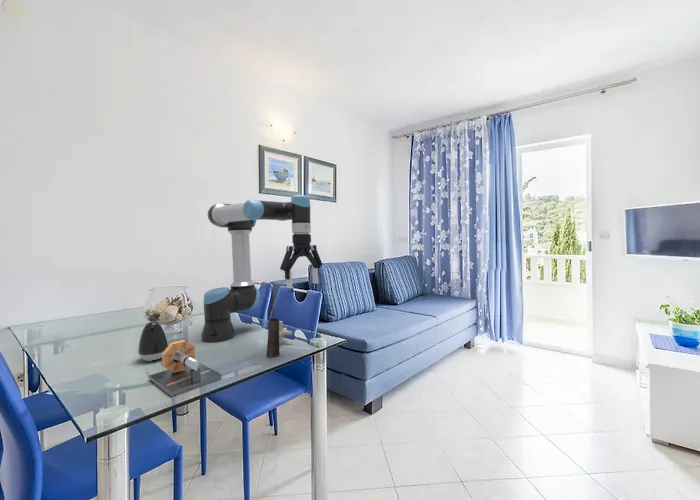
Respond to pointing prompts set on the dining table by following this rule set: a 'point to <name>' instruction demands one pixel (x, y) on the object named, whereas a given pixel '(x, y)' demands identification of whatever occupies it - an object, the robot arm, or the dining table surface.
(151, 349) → the black dome
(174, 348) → the ring
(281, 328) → the pipe connector
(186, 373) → the pipe stand
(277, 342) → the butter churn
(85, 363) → the dining table surface
